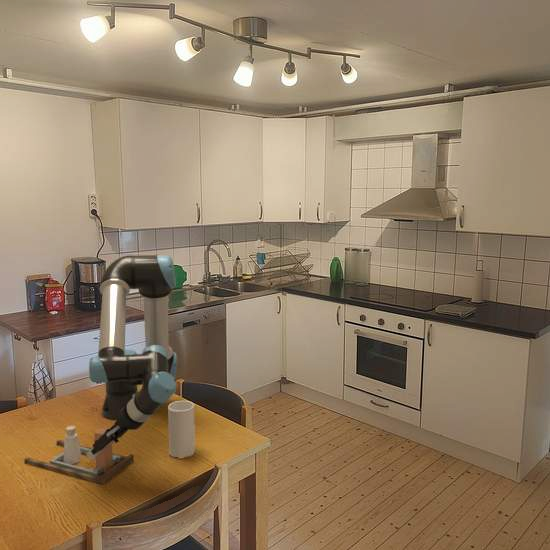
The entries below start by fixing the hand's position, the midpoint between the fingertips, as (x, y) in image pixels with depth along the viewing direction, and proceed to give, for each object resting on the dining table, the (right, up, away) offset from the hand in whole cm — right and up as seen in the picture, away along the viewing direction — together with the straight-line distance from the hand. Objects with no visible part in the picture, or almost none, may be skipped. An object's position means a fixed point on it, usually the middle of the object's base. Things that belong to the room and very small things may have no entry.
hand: (94, 453), depth 156 cm
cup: (+25, -3, +10) cm, 27 cm away
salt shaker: (-8, -4, +4) cm, 10 cm away
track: (-6, -4, +3) cm, 8 cm away
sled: (-3, -4, +2) cm, 5 cm away
